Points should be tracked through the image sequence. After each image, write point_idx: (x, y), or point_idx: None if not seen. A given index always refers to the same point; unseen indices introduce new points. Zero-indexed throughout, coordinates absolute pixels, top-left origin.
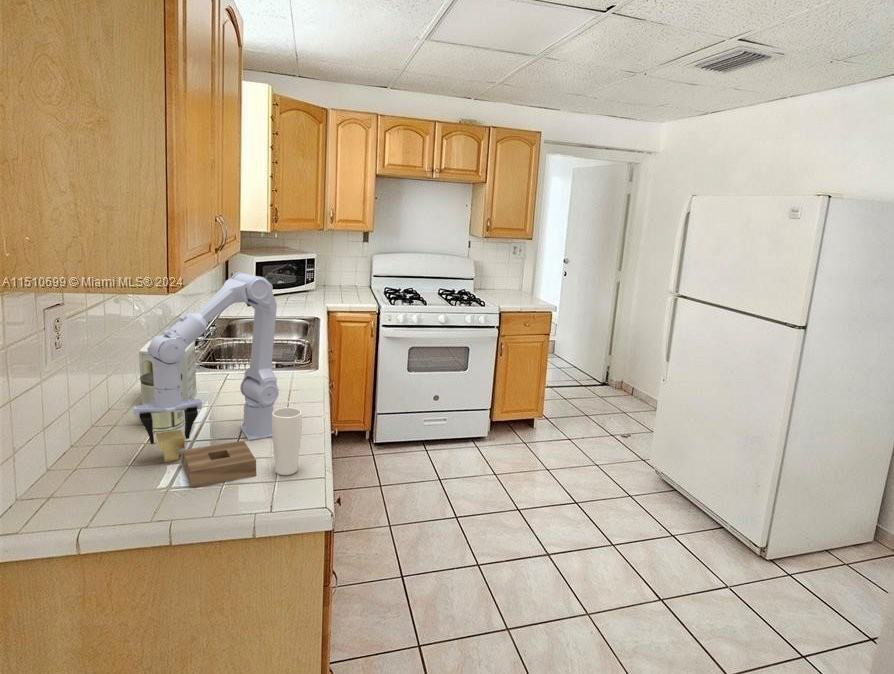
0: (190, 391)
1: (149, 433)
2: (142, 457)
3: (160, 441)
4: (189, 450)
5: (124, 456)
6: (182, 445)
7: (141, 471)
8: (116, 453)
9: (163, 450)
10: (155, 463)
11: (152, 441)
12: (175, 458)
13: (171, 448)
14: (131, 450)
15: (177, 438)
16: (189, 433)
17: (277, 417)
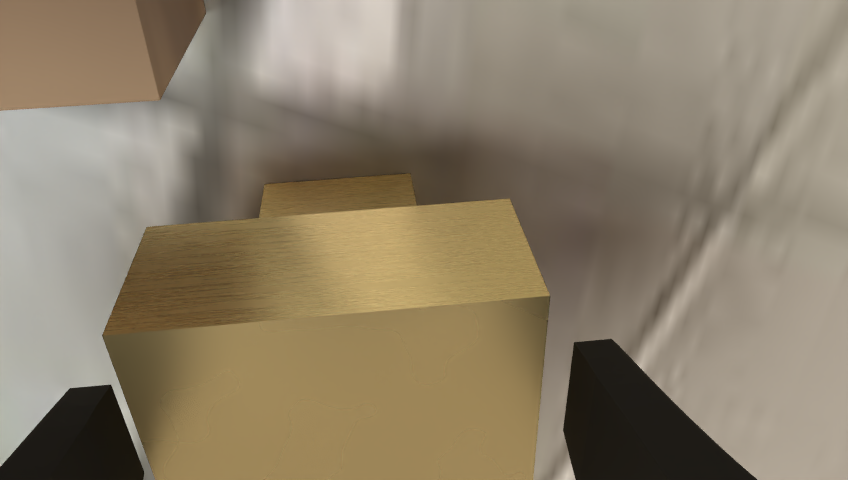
0: None
1: (724, 466)
2: (590, 330)
3: (514, 306)
4: (24, 39)
5: (713, 380)
6: (170, 250)
7: (674, 23)
8: (746, 436)
9: (448, 208)
10: (504, 176)
11: (610, 360)
12: (296, 195)
13: (337, 225)
14: None
15: (228, 350)
16: (15, 451)
17: None
